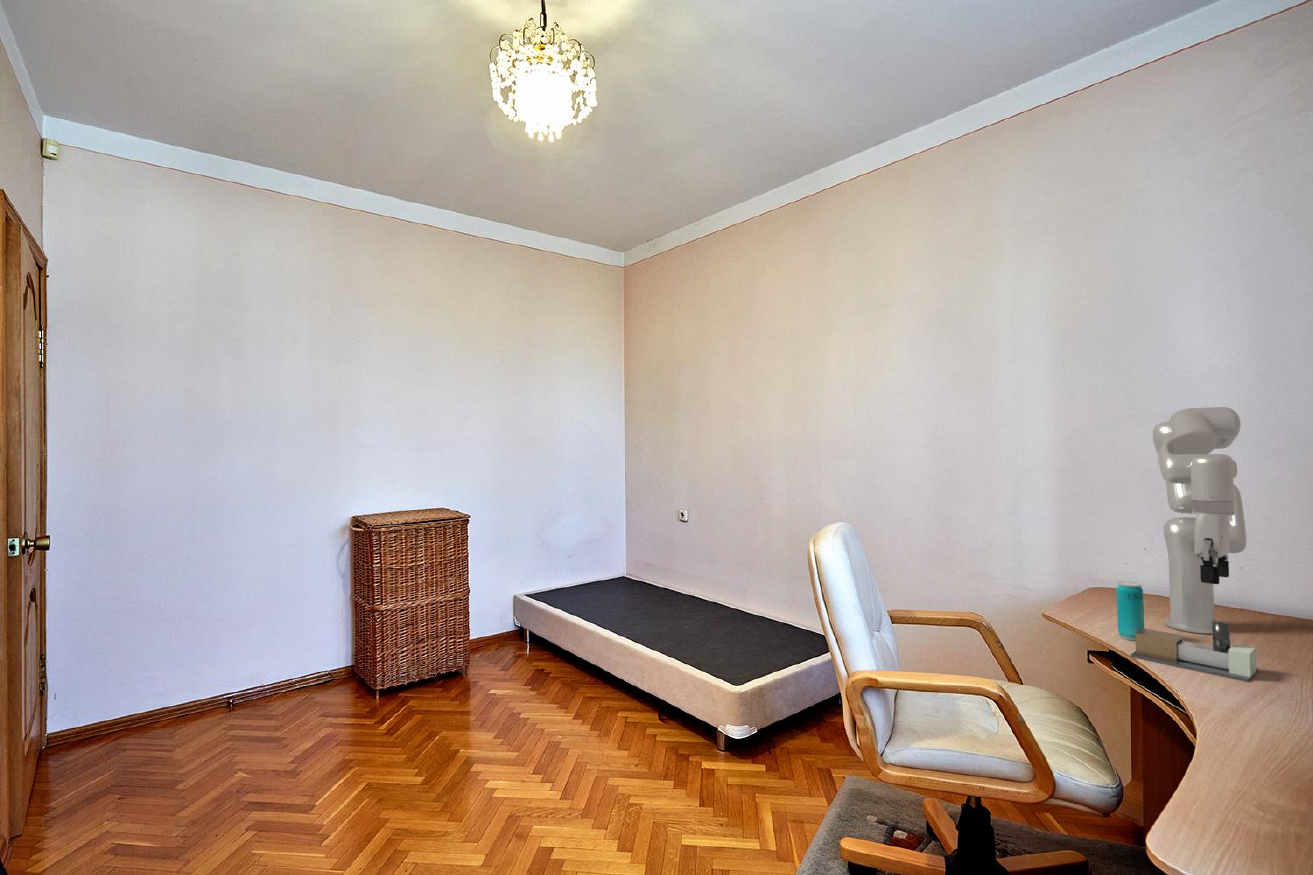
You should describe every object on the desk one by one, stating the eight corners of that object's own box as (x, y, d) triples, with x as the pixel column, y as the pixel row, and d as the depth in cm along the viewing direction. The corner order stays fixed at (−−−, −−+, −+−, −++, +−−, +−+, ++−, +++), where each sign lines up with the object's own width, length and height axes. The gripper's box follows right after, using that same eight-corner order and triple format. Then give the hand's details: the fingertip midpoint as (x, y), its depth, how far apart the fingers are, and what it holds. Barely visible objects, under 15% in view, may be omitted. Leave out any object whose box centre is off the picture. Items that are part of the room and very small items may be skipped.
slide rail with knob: (1144, 647, 160) (1143, 625, 160) (1258, 670, 142) (1257, 646, 143) (1130, 656, 153) (1129, 634, 153) (1248, 681, 136) (1247, 656, 136)
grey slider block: (1170, 652, 153) (1169, 612, 153) (1247, 668, 141) (1245, 624, 142) (1165, 656, 150) (1164, 615, 150) (1243, 672, 139) (1242, 628, 139)
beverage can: (1149, 642, 164) (1147, 586, 164) (1125, 641, 165) (1123, 585, 165) (1137, 635, 169) (1135, 581, 170) (1113, 634, 171) (1112, 580, 171)
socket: (1236, 665, 144) (1235, 643, 144) (1256, 669, 141) (1255, 646, 141) (1229, 672, 140) (1228, 649, 140) (1250, 677, 137) (1249, 653, 137)
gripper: (1201, 503, 153) (1203, 571, 153) (1182, 510, 143) (1184, 583, 143) (1242, 505, 147) (1244, 576, 147) (1225, 512, 137) (1228, 588, 137)
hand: (1215, 579), depth 145 cm, fingers open, 9 cm apart
